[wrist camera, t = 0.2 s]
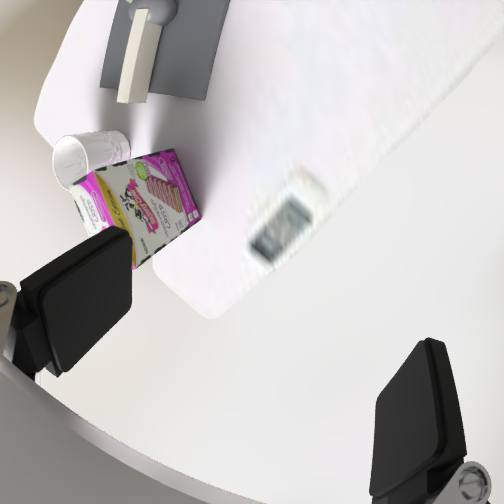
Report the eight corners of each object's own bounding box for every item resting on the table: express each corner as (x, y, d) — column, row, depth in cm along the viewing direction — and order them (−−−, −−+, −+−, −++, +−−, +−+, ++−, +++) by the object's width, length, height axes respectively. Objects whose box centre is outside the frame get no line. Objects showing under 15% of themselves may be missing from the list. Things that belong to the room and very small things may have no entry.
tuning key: (162, -39, 27) (146, -48, 24) (192, -41, 27) (178, -52, 23) (127, 100, 38) (108, 101, 34) (155, 103, 37) (137, 104, 34)
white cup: (93, 134, 44) (47, 144, 35) (128, 120, 41) (80, 127, 32) (103, 179, 47) (60, 196, 38) (139, 169, 44) (94, 186, 35)
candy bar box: (204, 218, 44) (137, 271, 30) (177, 227, 46) (107, 279, 32) (175, 145, 41) (91, 168, 26) (148, 158, 43) (65, 187, 28)
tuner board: (132, -27, 30) (127, -29, 29) (239, -33, 27) (236, -37, 26) (104, 87, 40) (98, 87, 38) (204, 100, 37) (200, 100, 36)
